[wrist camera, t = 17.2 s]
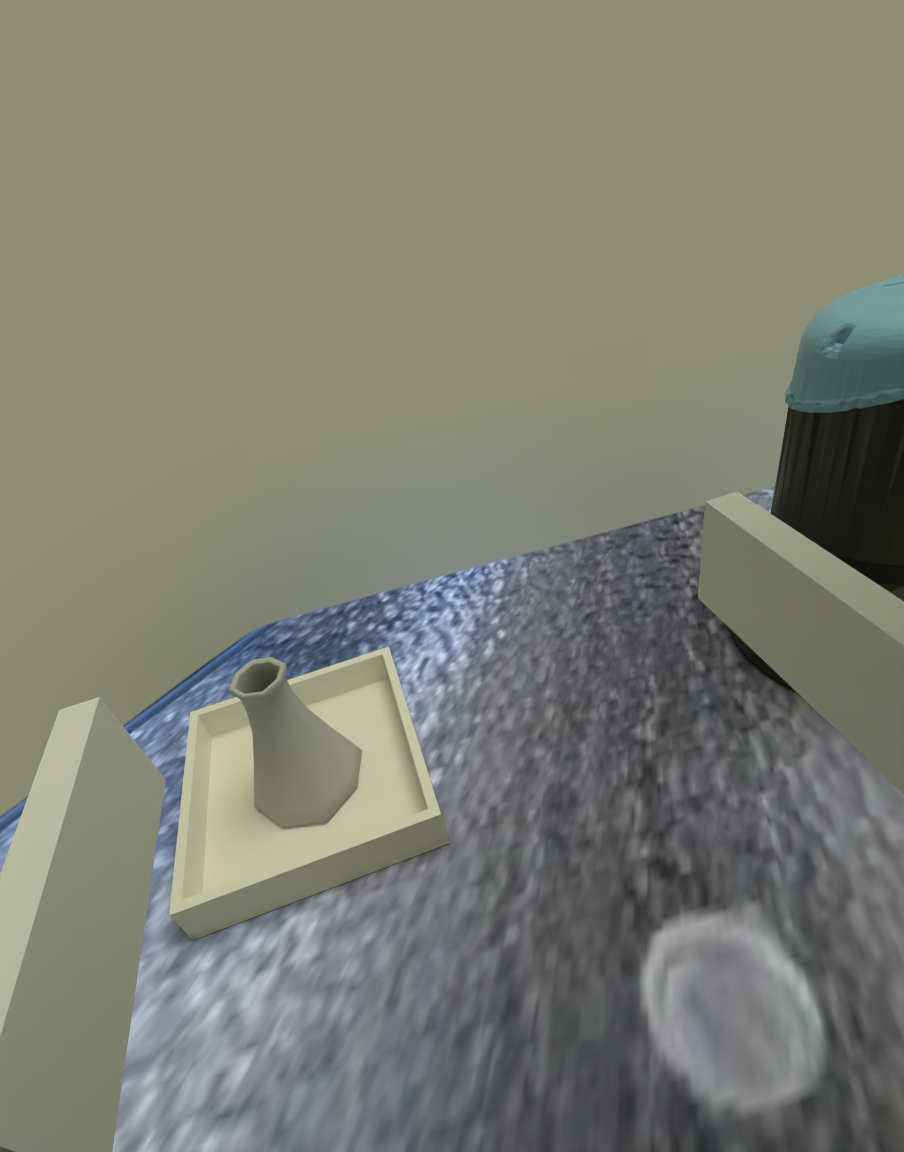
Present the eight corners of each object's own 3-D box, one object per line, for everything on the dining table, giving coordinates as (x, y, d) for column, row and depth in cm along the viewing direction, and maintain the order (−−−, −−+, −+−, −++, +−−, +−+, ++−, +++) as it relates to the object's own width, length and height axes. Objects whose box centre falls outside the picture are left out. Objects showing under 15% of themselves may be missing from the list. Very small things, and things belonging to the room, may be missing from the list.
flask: (291, 730, 44) (240, 629, 38) (379, 743, 42) (339, 638, 36) (236, 818, 39) (167, 717, 33) (334, 840, 36) (277, 734, 30)
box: (397, 674, 48) (388, 646, 46) (450, 842, 35) (440, 814, 34) (207, 738, 46) (190, 712, 44) (193, 940, 33) (169, 915, 32)
